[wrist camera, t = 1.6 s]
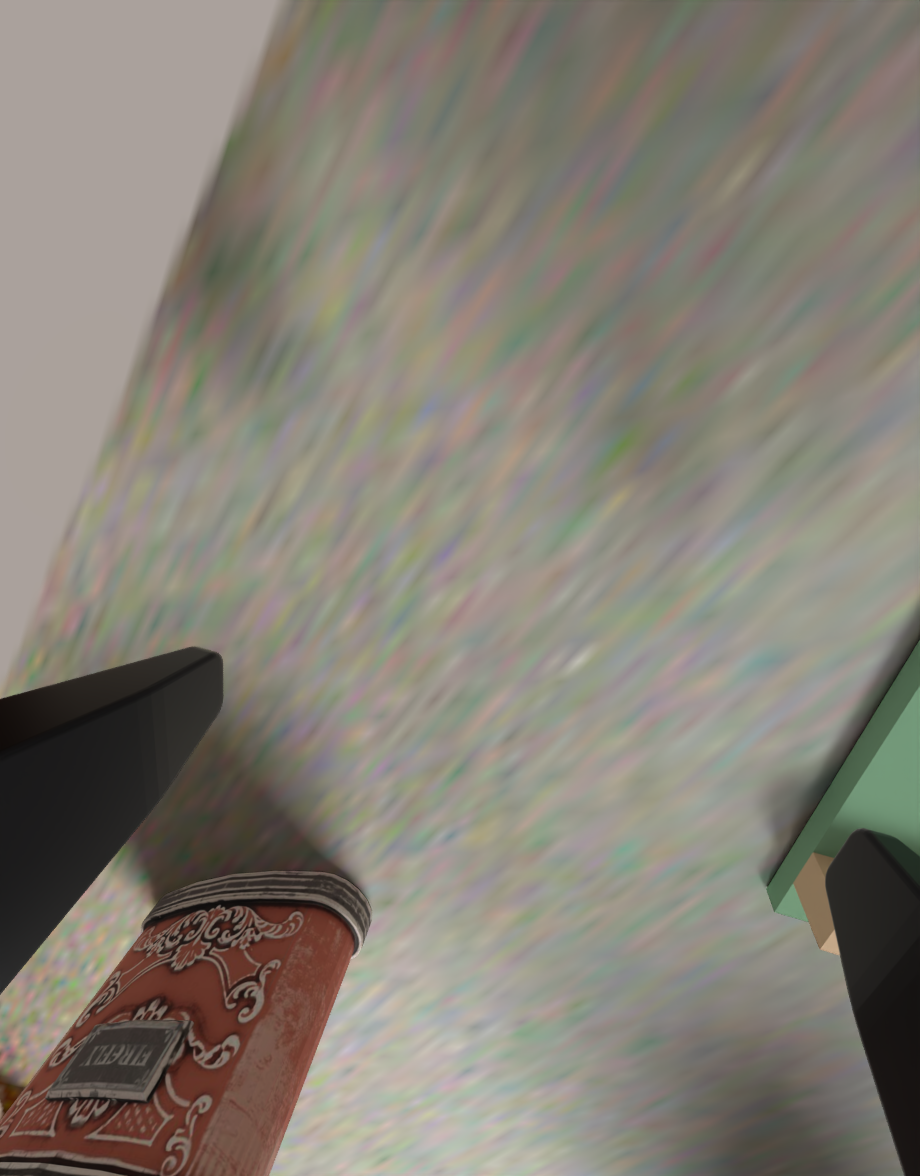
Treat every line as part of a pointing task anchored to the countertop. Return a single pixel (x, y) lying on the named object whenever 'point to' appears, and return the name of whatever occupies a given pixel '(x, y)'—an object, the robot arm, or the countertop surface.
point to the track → (858, 805)
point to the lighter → (195, 1035)
